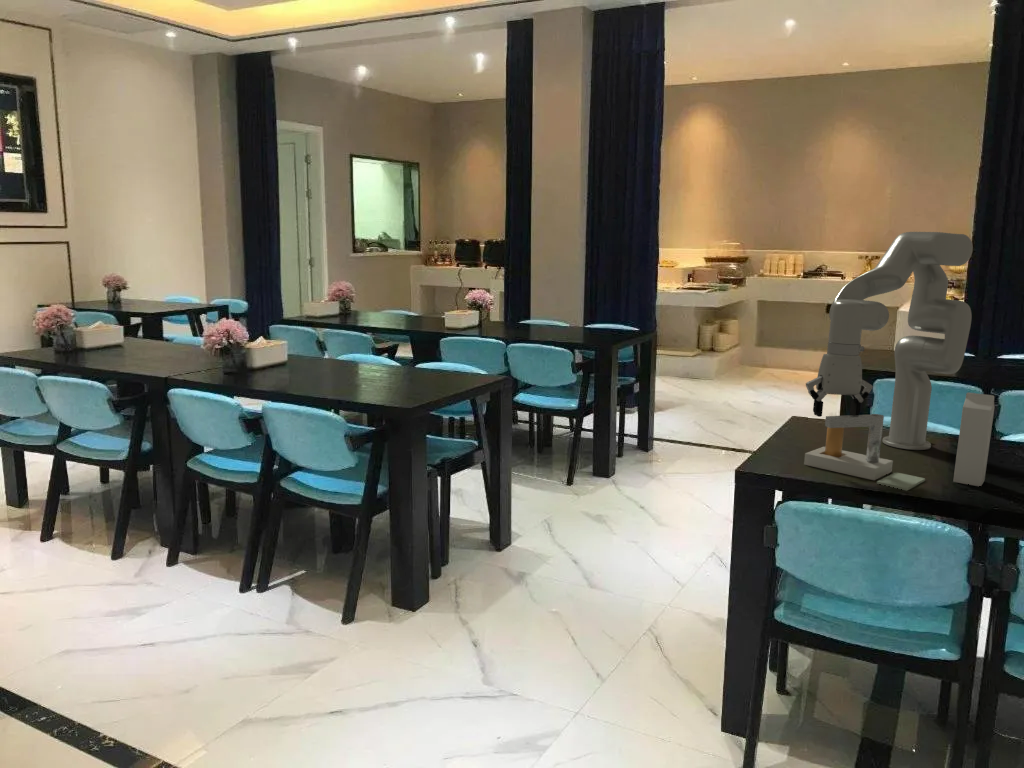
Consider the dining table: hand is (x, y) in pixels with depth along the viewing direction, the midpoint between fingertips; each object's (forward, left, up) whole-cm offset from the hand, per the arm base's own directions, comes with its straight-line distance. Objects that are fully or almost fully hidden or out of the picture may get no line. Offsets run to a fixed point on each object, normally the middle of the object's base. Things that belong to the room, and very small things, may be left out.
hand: (835, 416), depth 207 cm
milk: (-13, +29, -13) cm, 34 cm away
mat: (+1, +18, -13) cm, 22 cm away
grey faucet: (+5, +7, -10) cm, 13 cm away
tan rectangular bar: (-1, 0, -13) cm, 13 cm away
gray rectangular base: (-1, +4, -13) cm, 14 cm away
